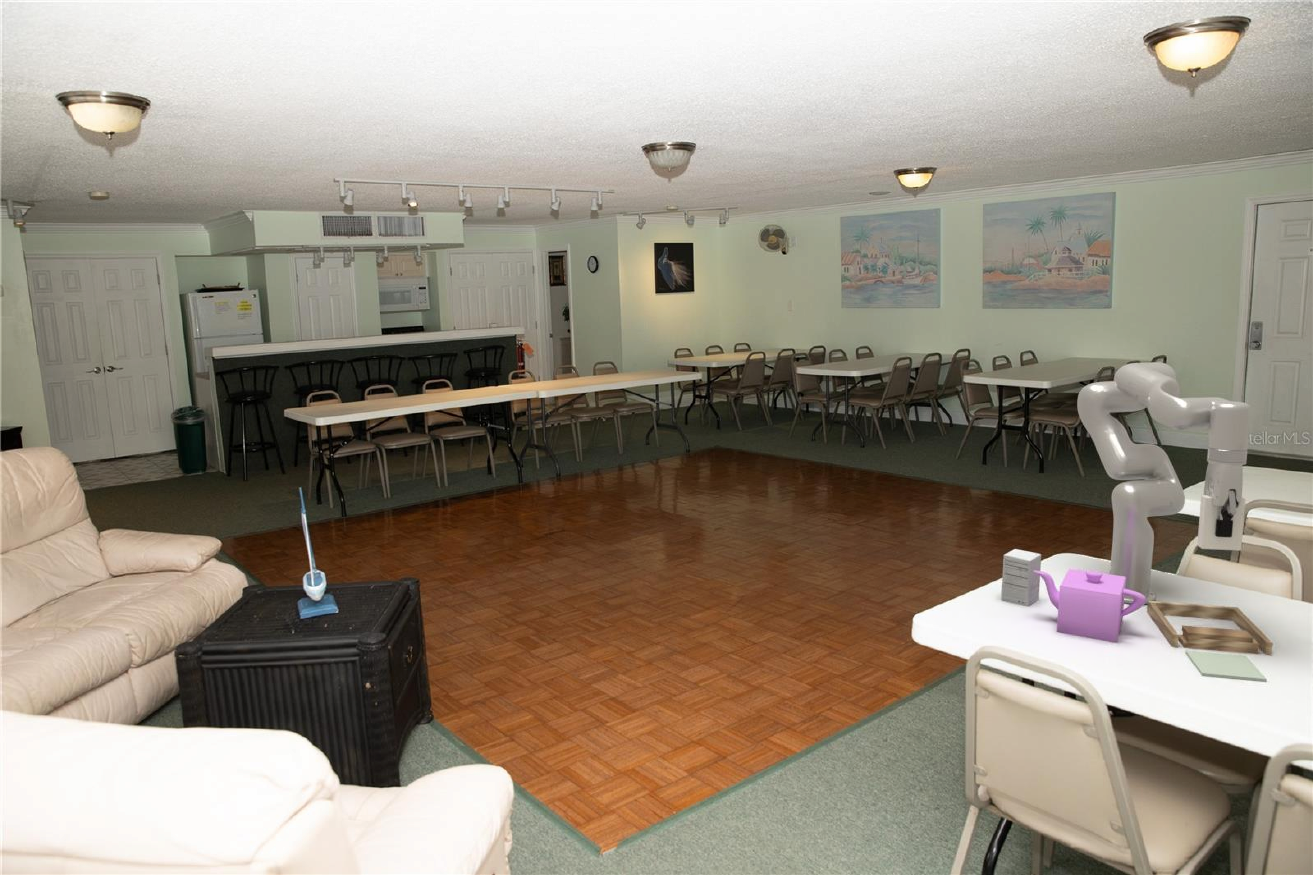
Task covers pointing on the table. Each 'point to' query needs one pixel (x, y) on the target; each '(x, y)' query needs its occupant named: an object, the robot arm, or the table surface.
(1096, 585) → the teapot
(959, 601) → the table surface
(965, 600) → the table surface
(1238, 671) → the mat
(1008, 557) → the supplement box
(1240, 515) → the cream rectangular block
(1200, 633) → the offcut stack
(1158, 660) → the table surface
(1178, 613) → the frame
